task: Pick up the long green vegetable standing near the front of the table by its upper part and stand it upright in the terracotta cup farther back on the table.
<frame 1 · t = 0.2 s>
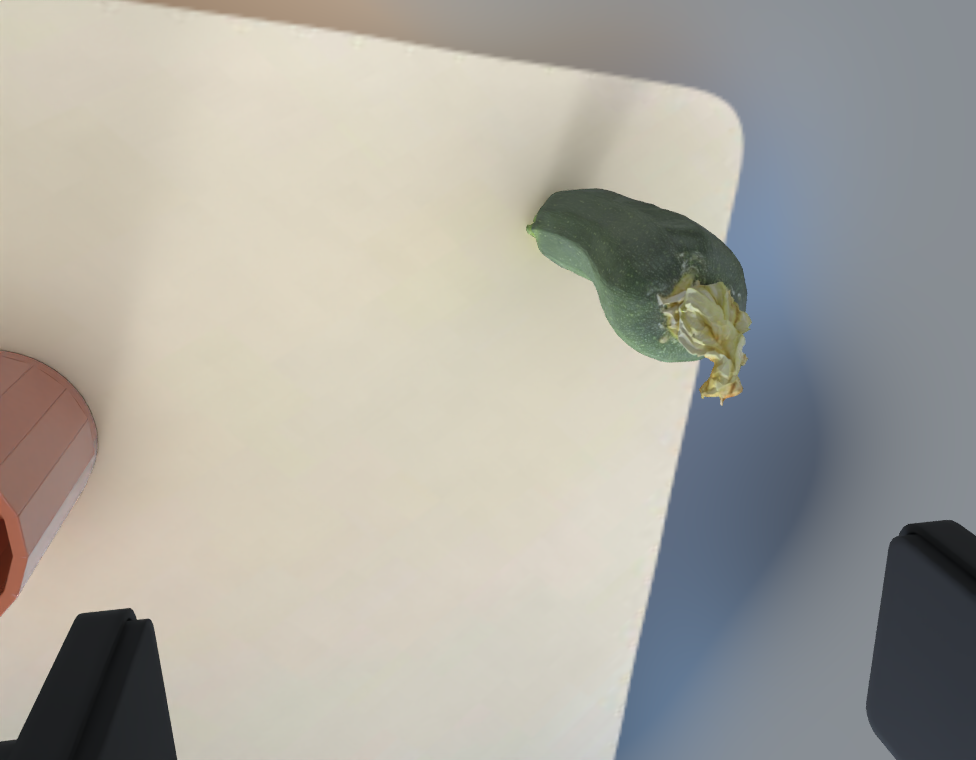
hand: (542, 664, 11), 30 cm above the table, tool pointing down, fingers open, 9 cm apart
cup: (0, 437, 39), on the table
vegetable: (566, 222, 40), on the table
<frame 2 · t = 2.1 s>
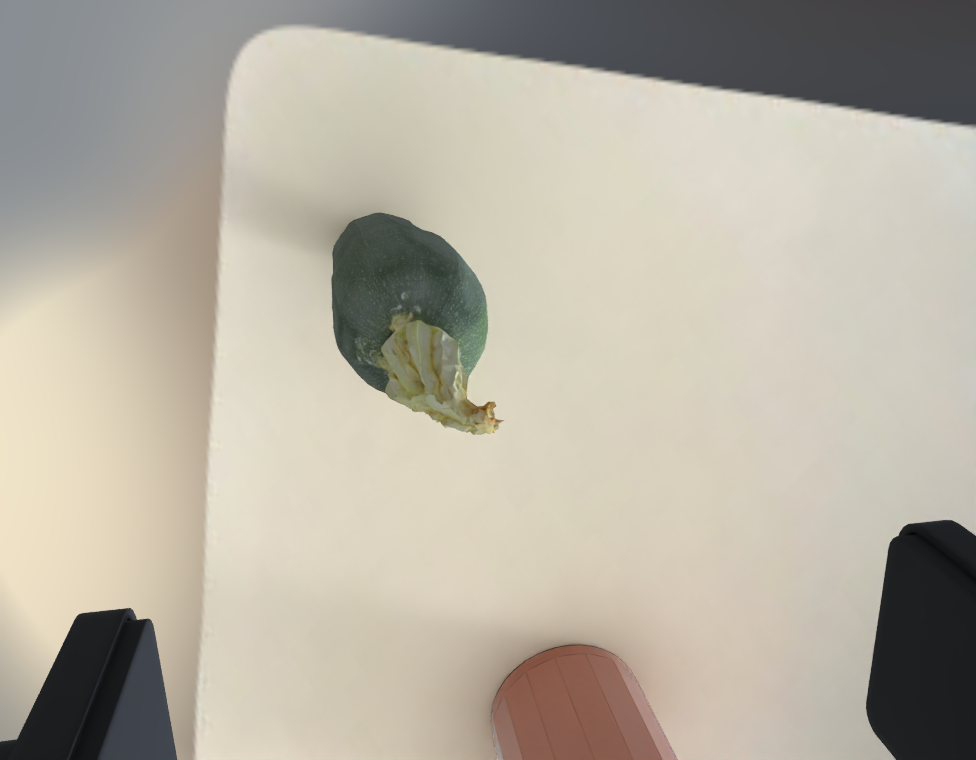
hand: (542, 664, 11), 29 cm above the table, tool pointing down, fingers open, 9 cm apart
cup: (565, 709, 47), on the table
vegetable: (381, 235, 38), on the table
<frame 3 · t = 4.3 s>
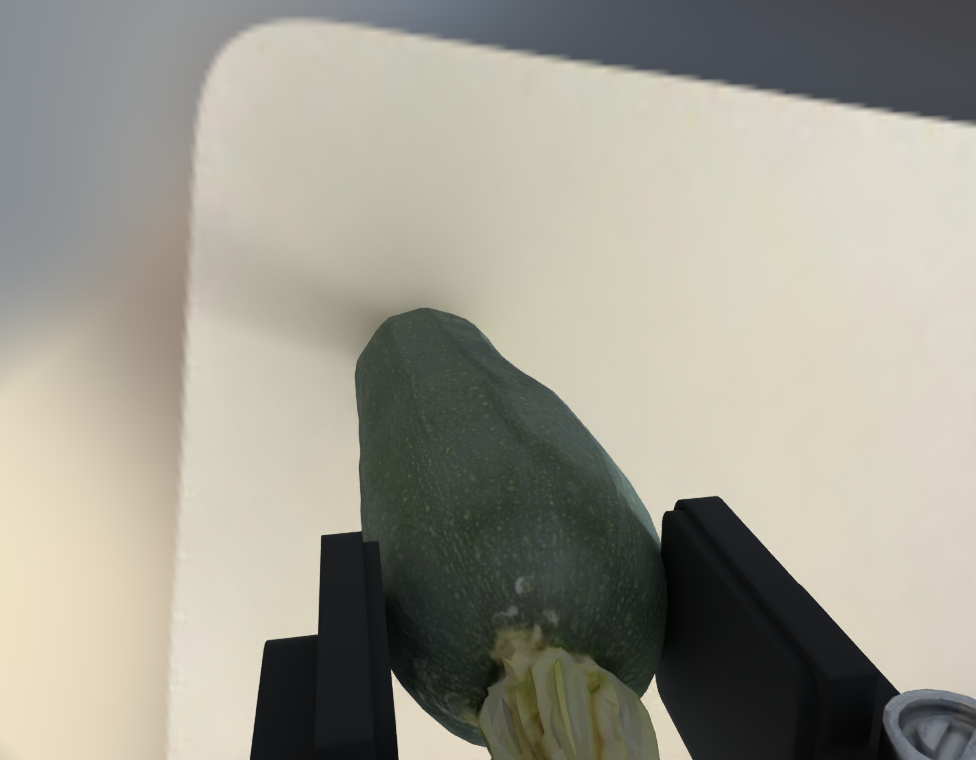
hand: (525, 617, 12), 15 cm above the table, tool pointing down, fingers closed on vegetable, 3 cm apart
vegetable: (423, 325, 26), on the table, touching gripper
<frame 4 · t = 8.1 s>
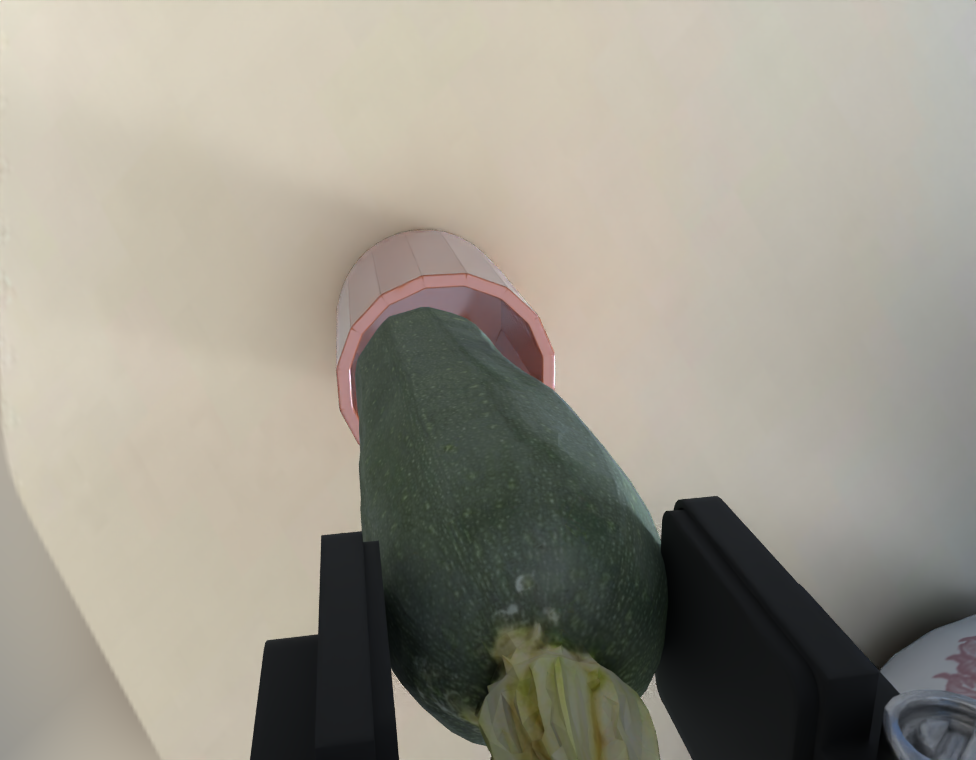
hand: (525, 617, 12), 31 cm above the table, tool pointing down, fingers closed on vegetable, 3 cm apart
cup: (424, 314, 42), on the table
vegetable: (423, 324, 26), point 16 cm above the table, touching gripper
chamber pot: (953, 718, 57), on the table
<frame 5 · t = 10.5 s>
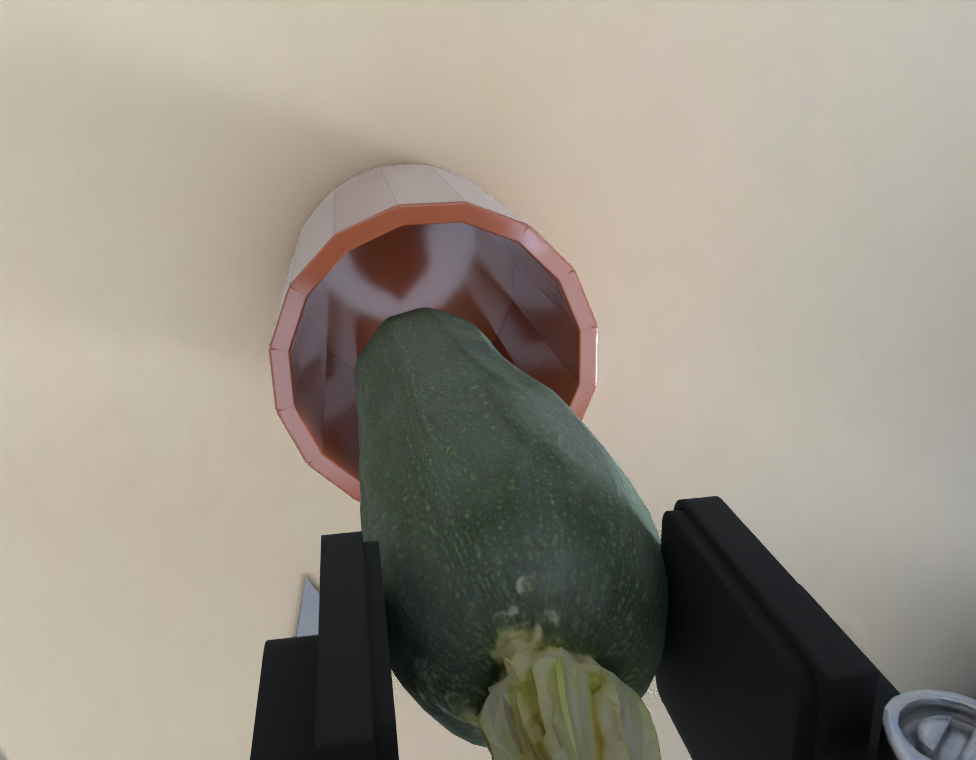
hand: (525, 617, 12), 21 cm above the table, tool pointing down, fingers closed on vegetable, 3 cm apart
cup: (408, 281, 31), on the table
vegetable: (422, 324, 26), point 6 cm above the table, touching gripper
when the fingers open (15 cm above the table, at t = 12.2 s): vegetable stays where it is, resting on cup.
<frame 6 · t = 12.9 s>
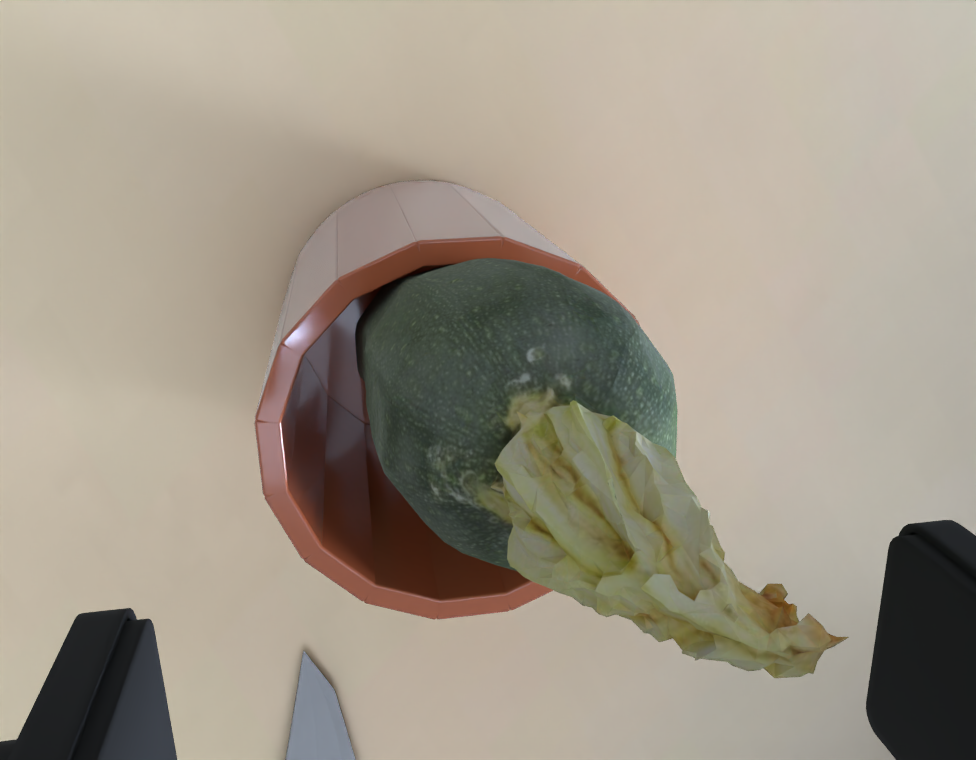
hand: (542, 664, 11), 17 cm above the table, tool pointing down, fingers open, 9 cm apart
cup: (422, 315, 27), on the table
vegetable: (419, 319, 26), point 1 cm above the table, touching cup
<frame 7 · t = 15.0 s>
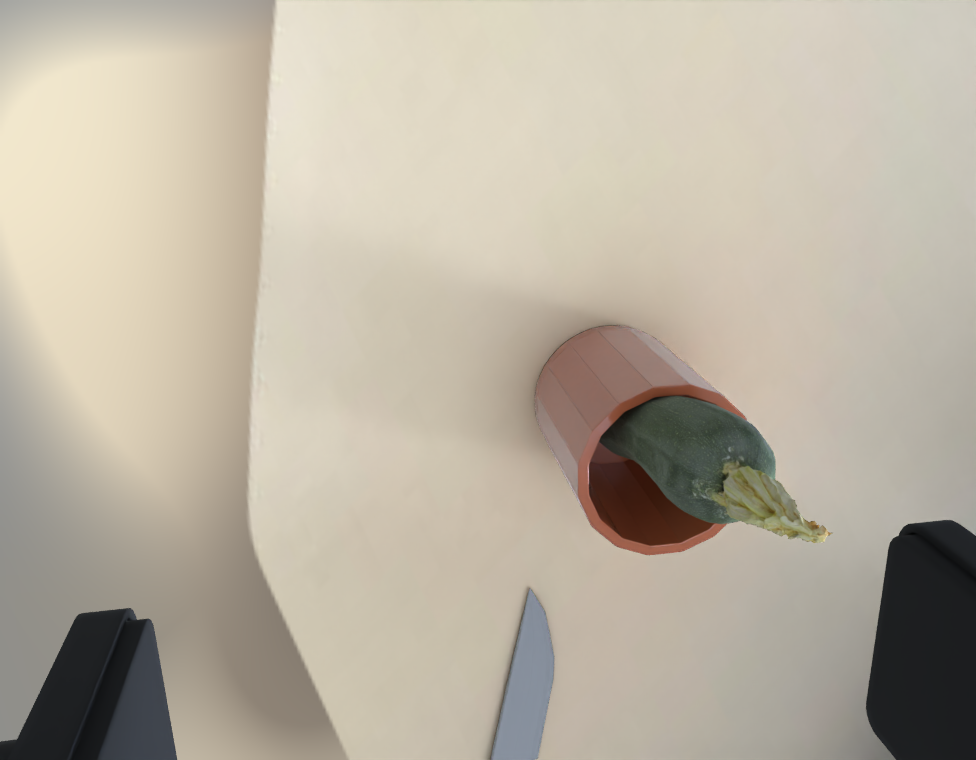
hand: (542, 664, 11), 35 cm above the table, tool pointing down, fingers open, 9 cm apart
cup: (607, 397, 48), on the table
chef's knife: (520, 720, 55), on the table
vegetable: (607, 400, 48), point 1 cm above the table, touching cup
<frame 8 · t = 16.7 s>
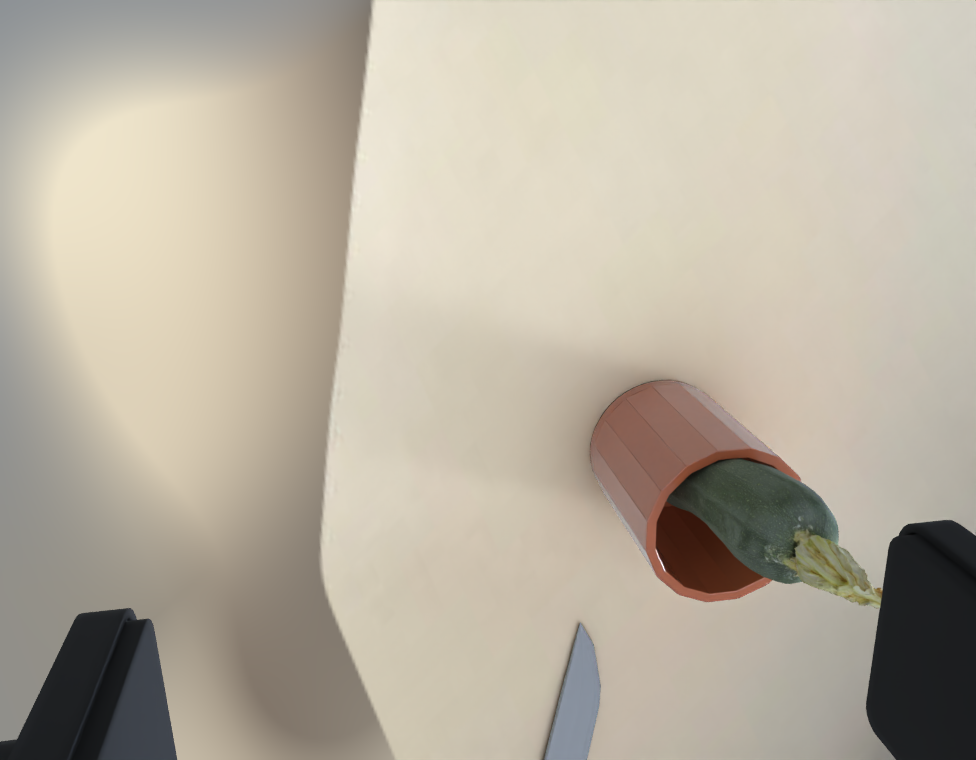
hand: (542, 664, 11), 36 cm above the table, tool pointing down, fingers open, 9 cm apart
cup: (657, 445, 52), on the table
chef's knife: (566, 744, 58), on the table
vegetable: (658, 449, 51), point 1 cm above the table, touching cup
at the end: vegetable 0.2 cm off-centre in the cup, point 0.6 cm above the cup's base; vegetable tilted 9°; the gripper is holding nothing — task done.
